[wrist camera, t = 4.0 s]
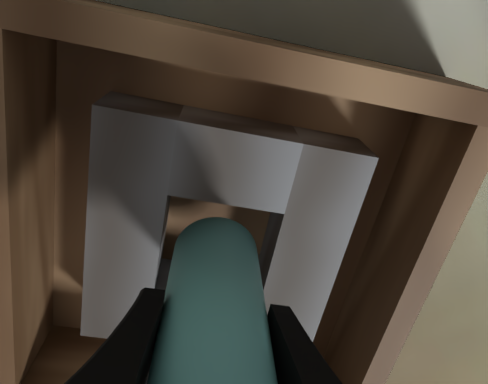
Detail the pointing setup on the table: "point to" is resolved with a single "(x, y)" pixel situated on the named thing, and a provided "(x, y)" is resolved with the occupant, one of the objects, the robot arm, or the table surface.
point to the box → (219, 178)
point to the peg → (214, 310)
